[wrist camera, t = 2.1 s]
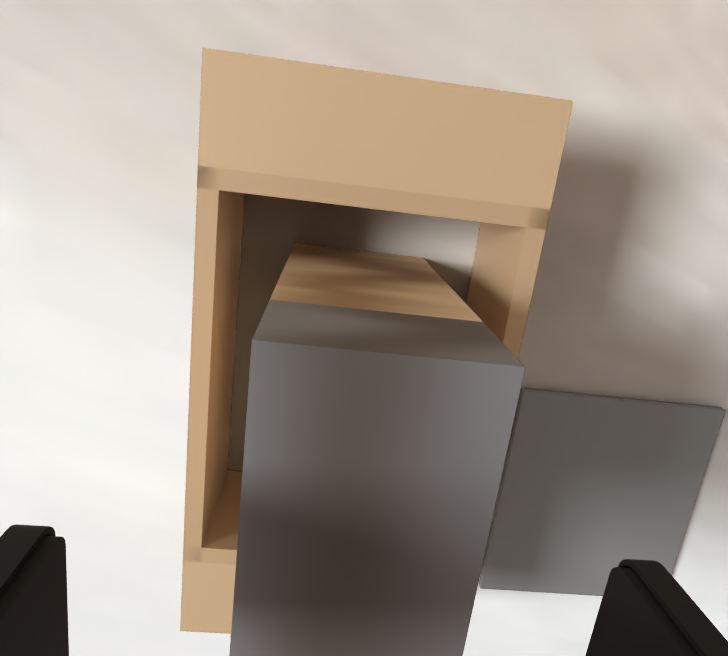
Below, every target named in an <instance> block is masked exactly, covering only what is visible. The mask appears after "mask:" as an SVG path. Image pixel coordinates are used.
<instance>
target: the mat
mask: <svg viewBox="0 0 728 656" xmlns="http://www.w3.org/2000/svg"><path fill="white" fill-rule="evenodd" d="M725 411H726V410H724V409H723V408H720V407H710V406H699V405H689V404H679V403H668V402H658V401H647V400H637V399H626V398H616V397H605V396H595V395H584V394H574V393H563V392H553V391H543V390H532V389H521V394H520V399H519V403H518V408H517V412H516V417H515V421H514V426H513V431H512V435H511V440H510V444H509V449H508V453H507V458H506V463H505V467H504V472H503V476H502V481H501V485H500V490H499V495H498V499H497V504H496V508H495V513H494V517H493V522H492V527H491V531H490V536H489V540H488V545H487V549H486V554H485V559H484V563H483V568H482V572H481V577H480V581H479V585H480V588H483V589H499V590H515V591H530V592H546V593H562V594H578V595H594V596H603V594H604V591H605V588H606V584H607V581H608V577H609V574H610V572H611V570H612V569H613V568H614V567H618V565H619V563H620V562H621V561H622V560H624V559H636V560H654V561H657V562H659V563H661V564H662V565H663V566H664V567H665V568H666V570H667V571H668V572H669V573H670V574H671V573H672V570H673V567H674V564H675V561H676V558H677V555H678V552H679V549H680V546H681V543H682V540H683V537H684V534H685V531H686V528H687V525H688V522H689V519H690V516H691V513H692V510H693V507H694V504H695V501H696V498H697V495H698V492H699V489H700V486H701V483H702V480H703V477H704V474H705V471H706V468H707V465H708V462H709V459H710V456H711V453H712V450H713V447H714V444H715V441H716V438H717V435H718V432H719V429H720V426H721V423H722V420H723V417H724V414H725Z"/></svg>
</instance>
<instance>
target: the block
mask: <svg viewBox="0 0 728 656" xmlns="http://www.w3.org/2000/svg"><path fill="white" fill-rule="evenodd" d="M524 371H525V366H524V365H523V364H522V363H521V362H520V361H519V360H518V359H517V358H516V357H515V356H514V354H513V353H512V352H511V351H510V350H509V349H508V348H507V347H506V346H505V345H504V344H503V343H502V342H501V341H500V340H499V338H498V337H497V336H496V335H495V334H494V333H493V332H492V331H491V330H490V329H489V328H488V327H487V326H486V325H485V323H484V322H483V321H482V320H481V319H480V318H479V317H478V316H477V315H476V314H475V313H474V312H473V311H472V310H471V308H470V307H469V306H468V305H467V304H466V303H465V302H464V301H463V300H462V299H461V298H460V297H459V296H458V295H457V294H456V292H455V291H454V290H453V289H452V288H451V287H450V286H449V285H448V284H447V283H446V282H445V281H444V280H443V279H442V277H441V276H440V275H439V274H438V273H437V272H436V271H435V270H434V269H433V268H432V267H431V266H430V265H429V264H428V263H427V261H426V260H425V259H424V258H419V257H410V256H402V255H393V254H384V253H376V252H367V251H358V250H349V249H341V248H332V247H323V246H315V245H306V244H297V243H295V244H294V246H293V249H292V251H291V253H290V255H289V257H288V260H287V262H286V264H285V266H284V269H283V271H282V273H281V275H280V278H279V280H278V282H277V284H276V287H275V289H274V291H273V293H272V296H271V298H270V300H269V302H268V305H267V307H266V309H265V311H264V314H263V316H262V318H261V320H260V322H259V325H258V327H257V329H256V331H255V334H254V336H253V338H252V343H251V357H250V371H249V386H248V400H247V414H246V429H245V443H244V457H243V471H242V486H241V500H240V514H239V529H238V543H237V557H236V571H235V586H234V600H233V614H232V628H231V643H230V656H462V655H463V650H464V646H465V641H466V637H467V632H468V627H469V623H470V618H471V614H472V609H473V605H474V600H475V595H476V591H477V586H478V582H479V577H480V572H481V568H482V563H483V559H484V554H485V550H486V545H487V540H488V536H489V531H490V527H491V522H492V517H493V513H494V508H495V504H496V499H497V494H498V490H499V485H500V481H501V476H502V472H503V467H504V462H505V458H506V453H507V449H508V444H509V439H510V435H511V430H512V426H513V421H514V417H515V412H516V407H517V403H518V398H519V394H520V389H521V384H522V380H523V375H524Z"/></svg>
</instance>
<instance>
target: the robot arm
mask: <svg viewBox="0 0 728 656" xmlns="http://www.w3.org/2000/svg"><path fill="white" fill-rule="evenodd" d="M0 656H69V646H68V611H67V577H66V544H65V540H64V538H63V537H56V536H55V531H54V529H53V528H52V527H49V526H31V525H13V526H11V527H9V528H8V529H7V530H6V531H5V532H4V534H3V535H2V536H1V537H0ZM586 656H728V641H727V640H726V639H725V638H724V637H723V636H722V634H721V633H720V632H719V631H718V630H717V628H716V627H715V626H714V625H713V624H712V623H711V621H710V620H709V619H708V618H707V617H706V615H705V614H704V613H703V612H702V611H701V610H700V608H699V607H698V606H697V605H696V604H695V603H694V601H693V600H692V599H691V598H690V597H689V595H688V594H687V593H686V592H685V591H684V590H683V588H682V587H681V586H680V585H679V584H678V582H677V581H676V580H675V579H674V578H673V577H672V575H671V574H670V573H669V572H668V571H667V570H666V568H665V567H664V566H663V565H662V564H661V563H659V562H657V561H654V560H636V559H624V560H622V561H621V562H620V563H619V565H618V567H614V568H613V569H612V570H611V572H610V574H609V577H608V581H607V584H606V588H605V591H604V594H603V598H602V601H601V605H600V608H599V612H598V615H597V618H596V622H595V625H594V629H593V632H592V636H591V639H590V642H589V646H588V649H587V653H586Z"/></svg>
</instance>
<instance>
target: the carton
mask: <svg viewBox="0 0 728 656" xmlns="http://www.w3.org/2000/svg"><path fill="white" fill-rule="evenodd" d="M572 105H573V101H570V100H563V99H556V98H549V97H542V96H535V95H528V94H521V93H514V92H507V91H500V90H494V89H487V88H480V87H473V86H466V85H459V84H452V83H445V82H438V81H431V80H424V79H417V78H410V77H403V76H396V75H389V74H382V73H375V72H368V71H361V70H354V69H347V68H340V67H333V66H326V65H319V64H312V63H305V62H298V61H291V60H284V59H277V58H270V57H263V56H257V55H250V54H243V53H236V52H229V51H222V50H215V49H208V48H202V72H201V99H200V125H199V151H198V178H197V204H196V230H195V257H194V283H193V309H192V336H191V362H190V388H189V415H188V441H187V467H186V494H185V520H184V546H183V573H182V599H181V625H180V631H190V632H209V633H228V634H231V628H232V614H233V600H234V586H235V571H236V557H237V543H238V529H239V514H240V500H241V486H242V471H231V470H228V454H229V438H230V421H231V405H232V389H233V372H234V356H235V340H236V324H237V307H238V291H239V275H240V258H241V242H242V226H243V210H244V193H246V194H255V195H263V196H271V197H279V198H287V199H296V200H304V201H312V202H320V203H329V204H337V205H345V206H353V207H361V208H370V209H378V210H386V211H394V212H402V213H411V214H419V215H427V216H435V217H443V218H452V219H460V220H468V221H476V222H481V225H480V231H479V236H478V242H477V247H476V253H475V259H474V264H473V270H472V275H471V281H470V286H469V292H468V297H467V303H466V304H467V305H468V306H469V307H470V308H471V310H472V311H473V312H474V313H475V314H476V315H477V316H478V317H479V318H480V319H481V320H482V321H483V322H484V323H485V325H486V326H487V327H488V328H489V329H490V330H491V331H492V332H493V333H494V334H495V335H496V336H497V337H498V338H499V340H500V341H501V342H502V343H503V344H504V345H505V346H506V347H507V348H508V349H509V350H510V351H511V352H512V353H513V354H514V356H515V357H516V358H517V359H518V358H519V353H520V349H521V344H522V339H523V335H524V330H525V325H526V321H527V316H528V311H529V307H530V302H531V297H532V293H533V288H534V283H535V278H536V274H537V269H538V264H539V260H540V255H541V250H542V246H543V241H544V236H545V232H546V227H547V222H548V218H549V213H550V208H551V204H552V199H553V194H554V189H555V185H556V180H557V175H558V171H559V166H560V161H561V157H562V152H563V147H564V143H565V138H566V133H567V129H568V124H569V119H570V115H571V110H572Z"/></svg>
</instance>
